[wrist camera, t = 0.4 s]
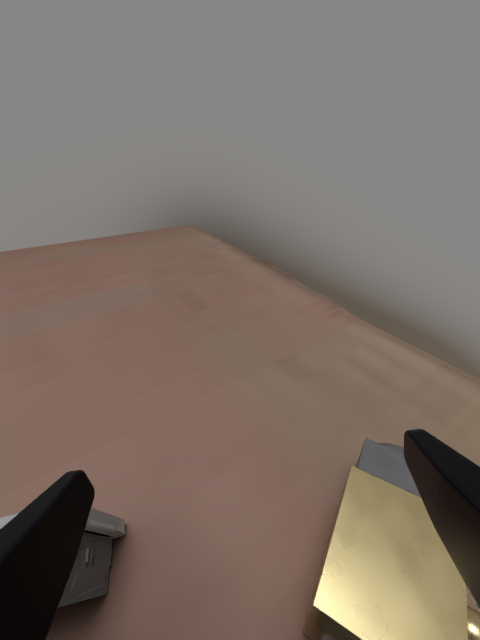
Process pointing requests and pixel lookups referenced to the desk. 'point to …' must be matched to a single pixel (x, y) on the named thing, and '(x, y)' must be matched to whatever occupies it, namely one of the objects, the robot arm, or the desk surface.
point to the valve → (387, 563)
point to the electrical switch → (90, 557)
